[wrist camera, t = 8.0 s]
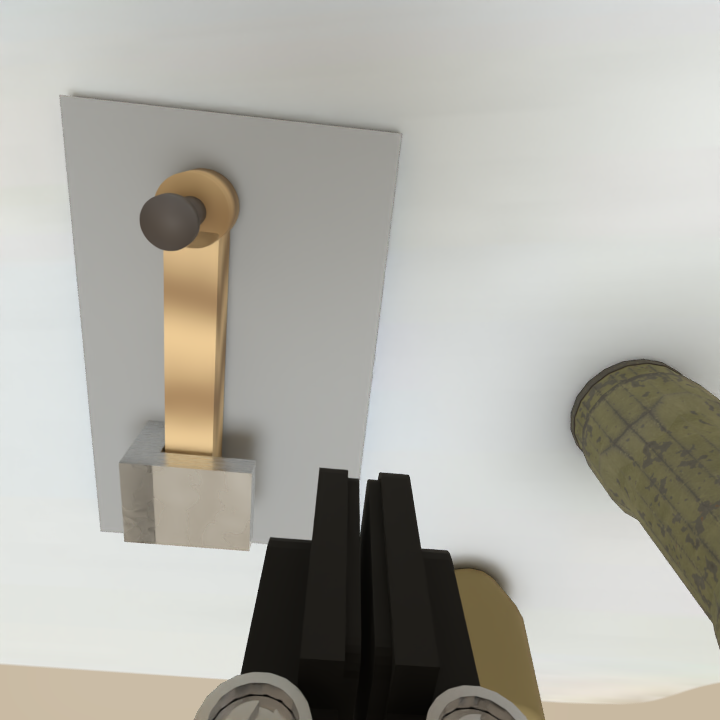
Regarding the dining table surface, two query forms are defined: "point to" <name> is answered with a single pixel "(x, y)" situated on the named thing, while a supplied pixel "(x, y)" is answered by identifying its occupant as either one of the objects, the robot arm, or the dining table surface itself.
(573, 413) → the olive green pillar
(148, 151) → the base plate
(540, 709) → the squeeze bottle
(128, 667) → the dining table surface
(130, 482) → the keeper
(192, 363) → the oak link
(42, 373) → the dining table surface
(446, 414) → the dining table surface
